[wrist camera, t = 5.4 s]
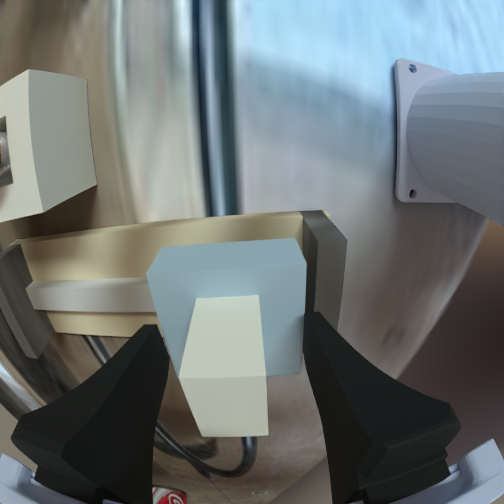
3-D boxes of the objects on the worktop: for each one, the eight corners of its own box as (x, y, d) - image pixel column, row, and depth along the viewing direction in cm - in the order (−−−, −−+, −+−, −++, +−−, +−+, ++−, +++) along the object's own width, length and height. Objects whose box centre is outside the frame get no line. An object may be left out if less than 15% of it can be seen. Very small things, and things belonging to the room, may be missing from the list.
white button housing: (86, 79, 11) (28, 69, 6) (97, 184, 13) (43, 212, 9) (13, 111, 11) (-43, 118, 6) (25, 200, 13) (-27, 229, 9)
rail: (325, 210, 14) (351, 239, 11) (319, 318, 17) (334, 363, 14) (16, 239, 14) (-19, 266, 11) (49, 323, 17) (25, 356, 14)
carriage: (295, 237, 13) (336, 336, 7) (293, 339, 15) (314, 442, 9) (161, 246, 13) (106, 344, 7) (185, 345, 15) (165, 446, 9)
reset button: (60, 114, 11) (-12, 120, 6) (66, 162, 12) (-4, 188, 7) (26, 128, 11) (-42, 141, 6) (32, 173, 12) (-34, 200, 7)
